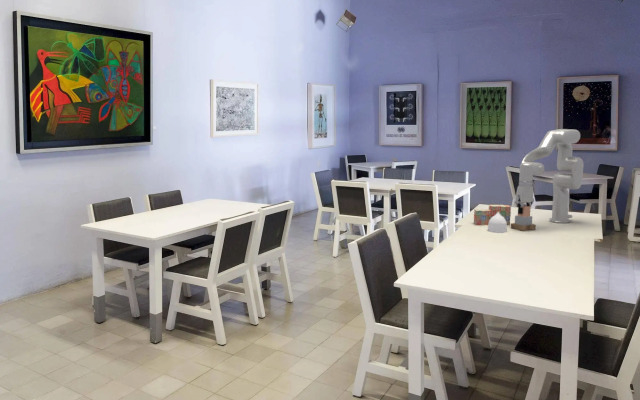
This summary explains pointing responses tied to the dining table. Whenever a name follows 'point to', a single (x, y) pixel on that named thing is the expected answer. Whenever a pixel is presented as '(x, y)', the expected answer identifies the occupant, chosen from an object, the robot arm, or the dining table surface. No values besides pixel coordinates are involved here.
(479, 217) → the stack of blocks
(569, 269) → the dining table surface
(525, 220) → the grey block
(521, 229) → the plinth
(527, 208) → the terracotta block
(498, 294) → the dining table surface
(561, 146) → the robot arm
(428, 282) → the dining table surface
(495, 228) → the teardrop
